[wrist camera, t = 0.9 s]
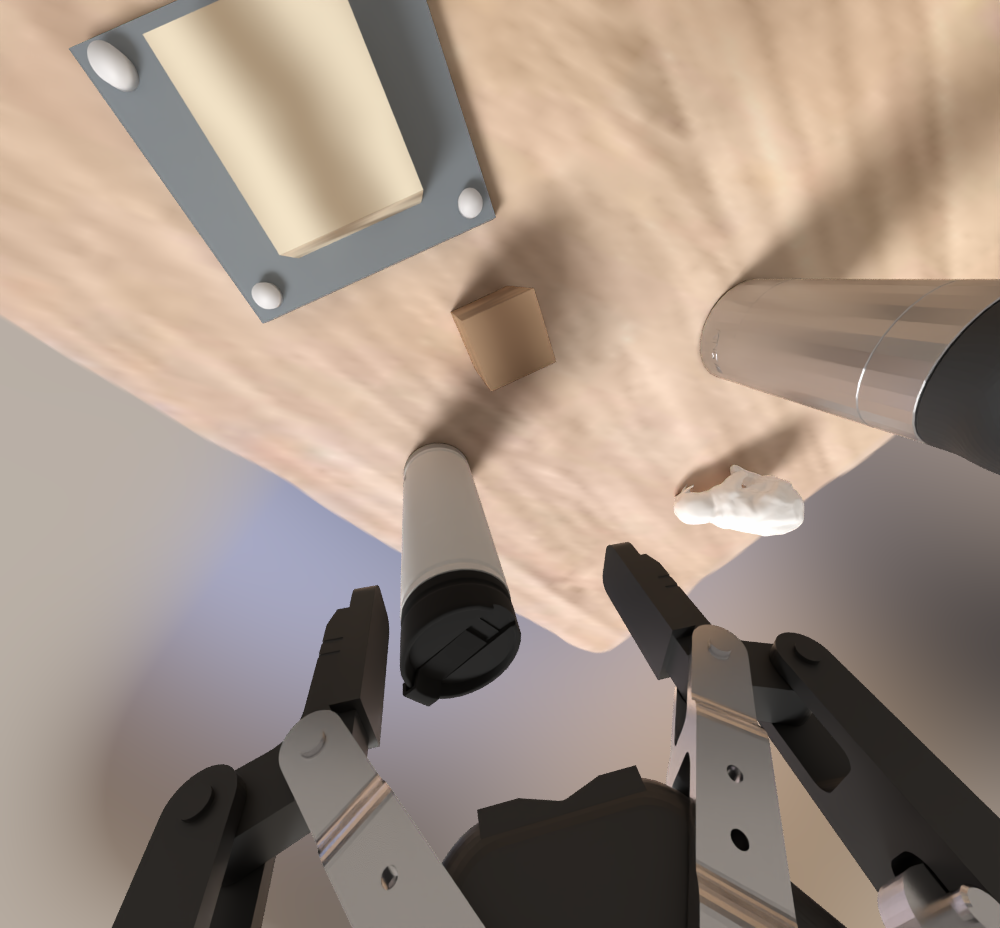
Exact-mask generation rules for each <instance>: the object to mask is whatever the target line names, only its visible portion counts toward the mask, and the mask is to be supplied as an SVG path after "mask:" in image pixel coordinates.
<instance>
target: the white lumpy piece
mask: <svg viewBox="0 0 1000 928" xmlns="http://www.w3.org/2000/svg"><path fill="white" fill-rule="evenodd" d="M730 473H731V475H730V476H729V477H727V478H726V479H725V480H724V481H723V483H721V484H720V485H716V486H714V487H712V488H711V489H710V490H708V491H703V492H699V493H698V492H695V493H694V492H690V488H693V486H694V485H692V486H690V487H688V488H687V489H685V488H686V486H687V485H686V486H685V487H684V489H685V490H684V489H683V490H682V492H681V493H680V494H679V495H677V496H675V503H674V507H673V508H674V512H675V514H676V516H677V517H678V518H679V519H680V520H681V521H682V522H684V523H686V524H705V523H709V522H710V523H713V524H714V525H716V526H718V527H720V528H723V529H733V530H737V531H740V532H747V533H752V534H759V535H762V536H771V535H780V534H785V533H787V532H790V531H792V530H795V529H796V528H798V527H799V526H800V525H801V524H802V522H803V520H804V503H803V500H802V497H801V496H800V495H799V494H798V492H797V491H796V490H795V489H793V487H792V484H791V482H789V481H786V480H783V479H780V478H778V477H775V476H772V475H765V476H761V475H760V474H757V473H754V472H750V471H747V470H745V469H743V468H741V467H740V466H738V465H732V466H731V467H730ZM742 485H744V486H746V488H742ZM691 490H692V489H691ZM688 491H689V492H688Z"/></svg>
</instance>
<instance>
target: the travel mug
mask: <svg viewBox="0 0 1000 928" xmlns="http://www.w3.org/2000/svg"><path fill="white" fill-rule="evenodd" d="M400 606H401V609H400V619H401V640H400V642H401V643H400V671H401V676H402V678H403V680H404V682H405V683H403V695H404V696H405V697H407V698H410V699H412V700H414V701H416V702H419V703H422V704H424V705H426V706H430V705H431V704H433V703H434V702H436V701H437V700H438V699H446V698H454V697H460V696H463V695H466V694H469V693H472V692H474V691H476V690H479V689H481V688H483V687H484V686H486V685H488V684H489V683H491V682H492V681H494V680H495V679H496V678H497V677H499V676H500V675H501V674H502V673H503V672H504V670H506V669H507V668H508V666H509V665H510V663H511V662H512V661H513V659H514V658H515V656H516V653H517V651H518V649H519V645H520V642H521V632H520V629H519V626H518V622H517V619H516V615H515V611H514V608H513V605H512V603H511V597H510V593H509V589H508V586H507V584H506V580H505V576H504V573H503V570H502V567H501V564H500V561H499V558H498V555H497V551H496V548H495V545H494V542H493V539H492V536H491V533H490V530H489V526H488V523H487V520H486V517H485V514H484V511H483V508H482V505H481V501H480V498H479V495H478V492H477V489H476V486H475V483H474V480H473V476H472V473H471V470H470V467H469V464H468V461H467V459H466V457H465V456H464V455H463V454H462V452H460V451H459V450H458V449H457V448H455V447H453V446H450V445H447V444H441V443H435V444H429V445H425V446H423V447H421V448H419V449H417V450H416V451H415V452H413V453H412V455H411V456H410V457H409V458H408V460H407V462H406V464H405V467H404V483H403V521H402V559H401V598H400Z"/></svg>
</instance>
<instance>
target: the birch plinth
mask: <svg viewBox="0 0 1000 928" xmlns="http://www.w3.org/2000/svg"><path fill="white" fill-rule="evenodd" d="M143 36H144V37H145V39H146V41H147V42H148V44H149V46H150V47H151V49H152V50H153V52H154V54H155V55H156V57H157V58H158V60H159V62H160V63H161V65H162V66H163V68H164V70H165V71H166V73H167V75H168V76H169V78H170V79H171V81H172V83H173V84H174V86H175V87H176V89H177V91H178V92H179V94H180V95H181V97H182V99H183V100H184V102H185V104H186V105H187V107H188V108H189V110H190V112H191V113H192V115H193V116H194V118H195V120H196V121H197V123H198V124H199V126H200V128H201V129H202V131H203V133H204V134H205V136H206V137H207V139H208V141H209V142H210V144H211V145H212V147H213V149H214V150H215V152H216V153H217V155H218V157H219V158H220V160H221V162H222V163H223V165H224V166H225V168H226V170H227V171H228V173H229V174H230V176H231V178H232V179H233V181H234V182H235V184H236V186H237V187H238V189H239V191H240V192H241V194H242V195H243V197H244V199H245V200H246V202H247V203H248V205H249V207H250V208H251V210H252V211H253V213H254V215H255V216H256V218H257V220H258V221H259V223H260V224H261V226H262V228H263V229H264V231H265V232H266V234H267V236H268V237H269V239H270V240H271V242H272V244H273V245H274V247H275V248H276V250H277V252H278V253H279V255H282V256H288V257H293V258H300V257H303V256H305V255H307V254H309V253H311V252H314V251H316V250H318V249H320V248H322V247H325V246H327V245H329V244H331V243H333V242H336V241H338V240H340V239H342V238H344V237H347V236H349V235H351V234H353V233H356V232H358V231H360V230H362V229H364V228H367V227H369V226H371V225H373V224H375V223H378V222H380V221H382V220H384V219H386V218H389V217H391V216H393V215H395V214H397V213H400V212H402V211H404V210H406V209H408V208H411V207H413V206H415V205H417V204H419V203H421V201H422V195H423V188H422V185H421V183H420V180H419V178H418V175H417V173H416V170H415V167H414V165H413V162H412V160H411V157H410V155H409V152H408V150H407V147H406V145H405V142H404V140H403V137H402V135H401V132H400V130H399V127H398V125H397V122H396V120H395V117H394V115H393V112H392V110H391V107H390V105H389V102H388V100H387V97H386V95H385V92H384V90H383V87H382V85H381V82H380V80H379V77H378V75H377V72H376V69H375V67H374V64H373V62H372V59H371V57H370V54H369V52H368V49H367V47H366V44H365V42H364V39H363V37H362V34H361V32H360V29H359V27H358V24H357V22H356V19H355V17H354V14H353V12H352V9H351V7H350V4H349V2H348V0H219V1H216V2H214V3H212V4H210V5H207V6H205V7H203V8H201V9H198V10H196V11H194V12H191V13H189V14H187V15H185V16H182V17H180V18H178V19H176V20H173V21H171V22H169V23H167V24H164V25H162V26H160V27H158V28H155V29H153V30H151V31H149V32H146V33H144V34H143Z"/></svg>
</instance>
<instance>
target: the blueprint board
mask: <svg viewBox="0 0 1000 928" xmlns="http://www.w3.org/2000/svg"><path fill="white" fill-rule="evenodd" d="M216 1H219V0H177V1H175V2H172V3H170V4H168V5H166V6H163V7H161V8H159V9H157V10H154V11H152V12H150V13H148V14H145V15H143V16H141V17H139V18H136V19H134V20H132V21H130V22H127V23H125V24H123V25H121V26H118V27H116V28H114V29H112V30H109V31H107V32H105V33H103V34H100V35H98V36H96V37H93V38H91V39H89V40H87V41H84V42H82V43H80V44H78V45H75V46H73V47H71V48H69V50H70V51H71V53H72V54H73V55H74V57H75V58H76V60H77V61H78V63H79V64H80V65H81V67H82V68H83V70H84V71H85V72H86V74H87V75H88V77H89V78H90V80H91V81H92V82H93V84H94V85H95V87H96V88H97V89H98V91H99V92H100V94H101V95H102V96H103V98H104V99H105V101H106V102H107V104H108V105H109V106H110V108H111V109H112V111H113V112H114V113H115V115H116V116H117V118H118V119H119V121H120V122H121V123H122V125H123V126H124V128H125V129H126V130H127V132H128V133H129V135H130V136H131V138H132V139H133V140H134V142H135V143H136V145H137V146H138V147H139V149H140V150H141V152H142V153H143V155H144V156H145V157H146V159H147V160H148V162H149V163H150V164H151V166H152V167H153V169H154V170H155V172H156V173H157V174H158V176H159V177H160V179H161V180H162V181H163V183H164V184H165V186H166V187H167V189H168V190H169V191H170V193H171V194H172V196H173V197H174V198H175V200H176V201H177V203H178V204H179V206H180V207H181V208H182V210H183V211H184V213H185V214H186V215H187V217H188V218H189V220H190V221H191V223H192V224H193V225H194V227H195V228H196V230H197V231H198V232H199V234H200V235H201V237H202V238H203V240H204V241H205V242H206V244H207V245H208V247H209V248H210V249H211V251H212V252H213V254H214V255H215V257H216V258H217V259H218V261H219V262H220V264H221V265H222V266H223V268H224V269H225V271H226V272H227V273H228V275H229V276H230V278H231V279H232V281H233V282H234V283H235V285H236V286H237V288H238V289H239V290H240V292H241V293H242V295H243V296H244V298H245V299H246V300H247V302H248V303H249V305H250V306H251V307H252V309H253V310H254V312H255V313H256V315H257V316H258V317H259V319H260V320H261V322H262V323H266V322H269V321H271V320H273V319H276V318H278V317H280V316H282V315H284V314H287V313H289V312H291V311H293V310H295V309H298V308H300V307H302V306H304V305H306V304H309V303H311V302H313V301H315V300H317V299H320V298H322V297H324V296H326V295H328V294H331V293H333V292H335V291H337V290H339V289H341V288H344V287H346V286H348V285H350V284H352V283H355V282H357V281H359V280H361V279H363V278H366V277H368V276H370V275H372V274H374V273H377V272H379V271H381V270H383V269H385V268H388V267H390V266H392V265H394V264H396V263H398V262H401V261H403V260H405V259H407V258H409V257H412V256H414V255H416V254H418V253H420V252H423V251H425V250H427V249H429V248H431V247H434V246H436V245H438V244H440V243H442V242H445V241H447V240H449V239H451V238H453V237H456V236H458V235H460V234H462V233H464V232H466V231H469V230H471V229H473V228H475V227H477V226H480V225H482V224H484V223H486V222H488V221H491V220H493V219H494V218H496V216H495V213H494V210H493V207H492V204H491V201H490V197H489V194H488V191H487V188H486V185H485V182H484V179H483V176H482V172H481V169H480V166H479V163H478V160H477V157H476V154H475V151H474V148H473V144H472V141H471V138H470V135H469V132H468V129H467V126H466V123H465V119H464V116H463V113H462V110H461V107H460V104H459V101H458V98H457V95H456V91H455V88H454V85H453V82H452V79H451V76H450V73H449V70H448V67H447V63H446V60H445V57H444V54H443V51H442V48H441V45H440V42H439V38H438V35H437V32H436V29H435V26H434V23H433V20H432V17H431V14H430V10H429V7H428V4H427V1H426V0H348V2H349V4H350V7H351V9H352V12H353V14H354V17H355V19H356V22H357V24H358V27H359V29H360V32H361V34H362V37H363V39H364V42H365V44H366V47H367V49H368V52H369V54H370V57H371V59H372V62H373V64H374V67H375V69H376V72H377V75H378V77H379V80H380V82H381V85H382V87H383V90H384V92H385V95H386V97H387V100H388V102H389V105H390V107H391V110H392V112H393V115H394V117H395V120H396V122H397V125H398V127H399V130H400V132H401V135H402V137H403V140H404V142H405V145H406V147H407V150H408V152H409V155H410V157H411V160H412V162H413V165H414V167H415V170H416V173H417V175H418V178H419V180H420V183H421V185H422V188H423V195H422V201H421V203H419V204H417V205H415V206H413V207H411V208H408V209H406V210H404V211H402V212H400V213H397V214H395V215H393V216H391V217H389V218H386V219H384V220H382V221H380V222H378V223H375V224H373V225H371V226H369V227H367V228H364V229H362V230H360V231H358V232H356V233H353V234H351V235H349V236H347V237H344V238H342V239H340V240H338V241H336V242H333V243H331V244H329V245H327V246H325V247H322V248H320V249H318V250H316V251H314V252H311V253H309V254H307V255H305V256H303V257H300V258H293V257H288V256H282V255H279V253H278V252H277V250H276V248H275V247H274V245H273V244H272V242H271V240H270V239H269V237H268V236H267V234H266V232H265V231H264V229H263V228H262V226H261V224H260V223H259V221H258V220H257V218H256V216H255V215H254V213H253V211H252V210H251V208H250V207H249V205H248V203H247V202H246V200H245V199H244V197H243V195H242V194H241V192H240V191H239V189H238V187H237V186H236V184H235V182H234V181H233V179H232V178H231V176H230V174H229V173H228V171H227V170H226V168H225V166H224V165H223V163H222V162H221V160H220V158H219V157H218V155H217V153H216V152H215V150H214V149H213V147H212V145H211V144H210V142H209V141H208V139H207V137H206V136H205V134H204V133H203V131H202V129H201V128H200V126H199V124H198V123H197V121H196V120H195V118H194V116H193V115H192V113H191V112H190V110H189V108H188V107H187V105H186V104H185V102H184V100H183V99H182V97H181V95H180V94H179V92H178V91H177V89H176V87H175V86H174V84H173V83H172V81H171V79H170V78H169V76H168V75H167V73H166V71H165V70H164V68H163V66H162V65H161V63H160V62H159V60H158V58H157V57H156V55H155V54H154V52H153V50H152V49H151V47H150V46H149V44H148V42H147V41H146V39H145V37H144V36H143V34H144V33H146V32H149V31H151V30H153V29H155V28H158V27H160V26H162V25H164V24H167V23H169V22H171V21H173V20H176V19H178V18H180V17H182V16H185V15H187V14H189V13H191V12H194V11H196V10H198V9H201V8H203V7H205V6H207V5H210V4H212V3H214V2H216Z"/></svg>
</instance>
